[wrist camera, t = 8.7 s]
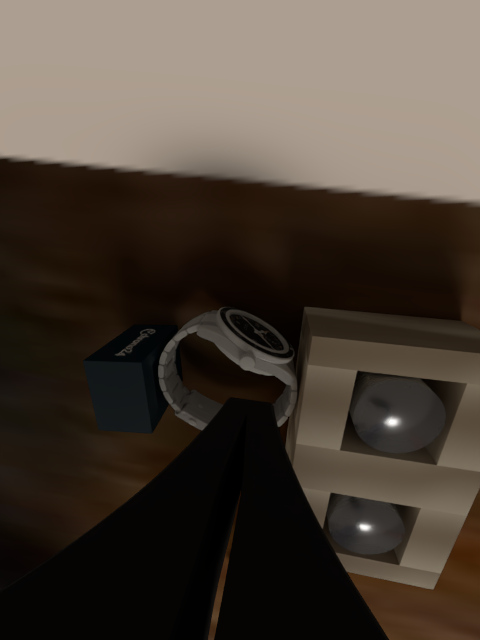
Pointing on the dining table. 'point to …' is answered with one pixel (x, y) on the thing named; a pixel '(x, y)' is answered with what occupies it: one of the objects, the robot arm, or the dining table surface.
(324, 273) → the dining table surface
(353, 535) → the steel peg
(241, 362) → the watch
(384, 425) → the steel peg
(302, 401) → the press block
